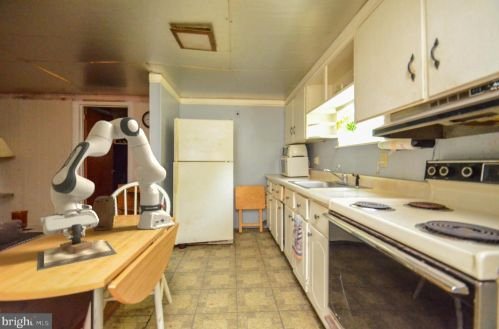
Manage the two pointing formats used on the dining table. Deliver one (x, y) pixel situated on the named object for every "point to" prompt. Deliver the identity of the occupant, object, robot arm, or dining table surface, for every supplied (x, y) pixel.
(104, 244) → the board
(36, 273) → the dining table surface
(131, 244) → the dining table surface
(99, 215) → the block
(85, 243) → the sanding block
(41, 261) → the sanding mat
